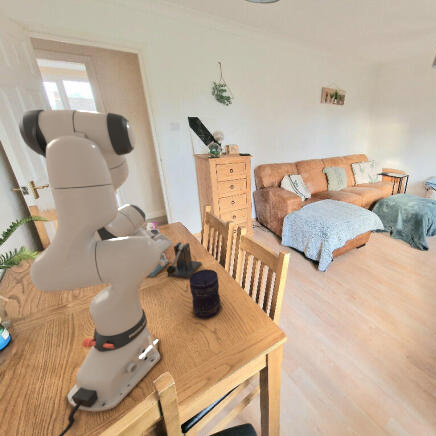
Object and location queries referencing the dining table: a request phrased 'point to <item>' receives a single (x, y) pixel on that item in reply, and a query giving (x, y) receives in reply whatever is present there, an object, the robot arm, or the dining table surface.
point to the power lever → (175, 261)
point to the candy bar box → (151, 226)
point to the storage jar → (205, 293)
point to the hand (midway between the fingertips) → (166, 264)
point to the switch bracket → (184, 263)
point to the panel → (157, 269)
